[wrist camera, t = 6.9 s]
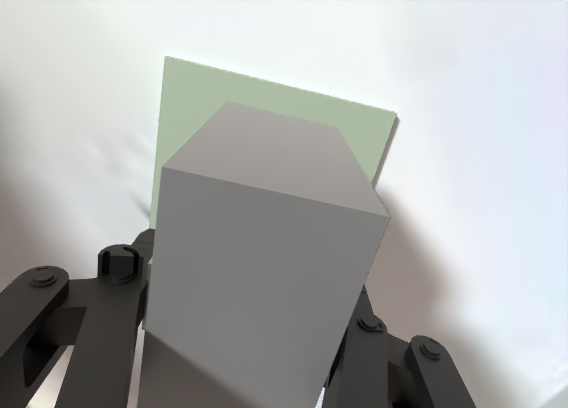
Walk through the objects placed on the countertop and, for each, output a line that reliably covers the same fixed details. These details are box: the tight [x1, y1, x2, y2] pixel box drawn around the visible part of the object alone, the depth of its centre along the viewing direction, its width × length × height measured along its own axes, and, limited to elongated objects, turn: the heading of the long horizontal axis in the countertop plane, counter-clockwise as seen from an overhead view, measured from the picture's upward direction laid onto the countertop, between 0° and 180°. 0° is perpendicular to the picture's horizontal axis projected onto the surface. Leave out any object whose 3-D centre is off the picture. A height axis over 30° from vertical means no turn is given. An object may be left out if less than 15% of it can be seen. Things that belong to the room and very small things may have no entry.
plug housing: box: [137, 101, 390, 408], centre depth 14 cm, size 5×11×9 cm, turn 167°
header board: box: [149, 56, 397, 229], centre depth 22 cm, size 14×12×6 cm
